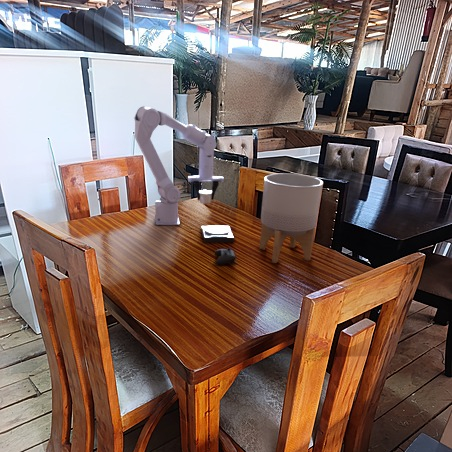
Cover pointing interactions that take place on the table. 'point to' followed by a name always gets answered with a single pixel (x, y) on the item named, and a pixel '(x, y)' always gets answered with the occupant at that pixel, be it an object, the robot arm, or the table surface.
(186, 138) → the robot arm
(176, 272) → the table surface
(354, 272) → the table surface
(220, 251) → the gaming controller
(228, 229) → the scale
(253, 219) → the table surface
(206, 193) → the small grey cup
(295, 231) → the planter
